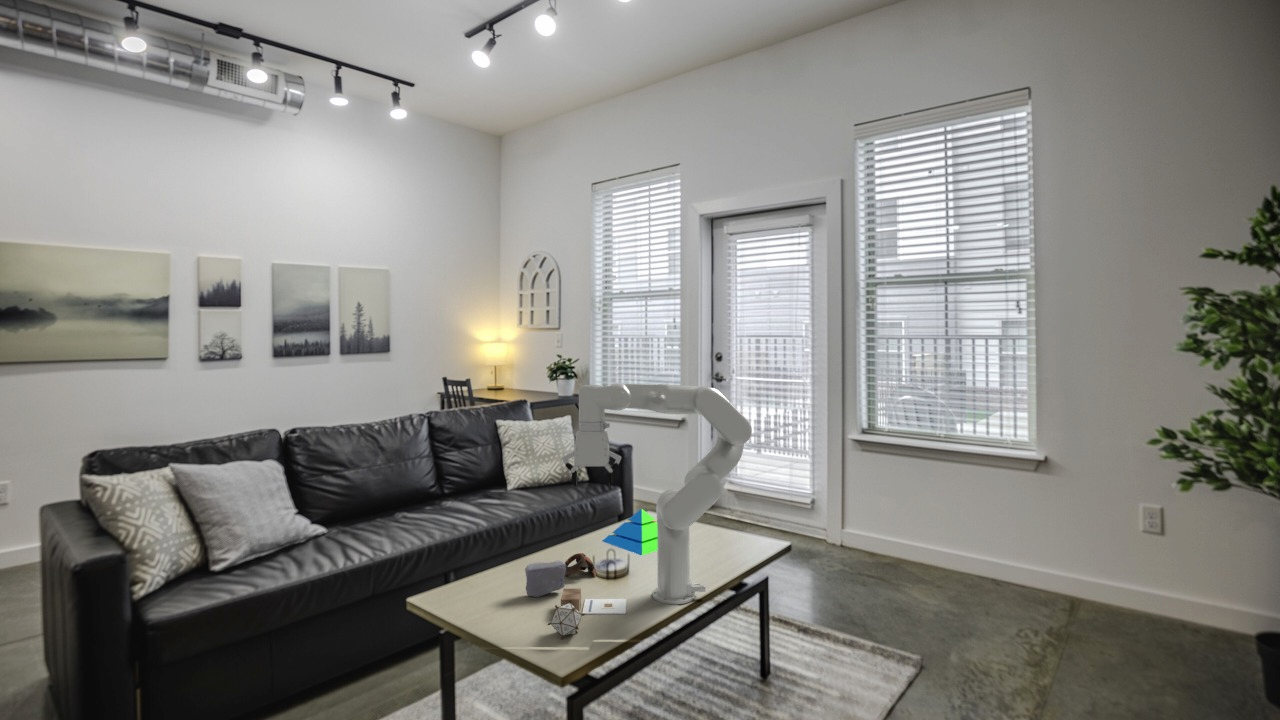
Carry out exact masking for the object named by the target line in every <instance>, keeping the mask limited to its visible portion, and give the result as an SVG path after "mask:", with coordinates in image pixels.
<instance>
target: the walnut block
mask: <svg viewBox="0 0 1280 720" xmlns="http://www.w3.org/2000/svg"><path fill="white" fill-rule="evenodd" d="M562 589H563V590H562V593H561V598H560V606H562V605H565V604H568V603H570V602H569V601H570V600H571V604H572V605H573V606H574V607H575V608H576V609H577V610H578V611H579V612H580V613H581V607H582V588H562Z"/></svg>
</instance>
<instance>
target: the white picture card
mask: <svg viewBox="0 0 1280 720" xmlns="http://www.w3.org/2000/svg"><path fill="white" fill-rule="evenodd" d="M626 612H627V598H585V599H584V604H583V608H582V612H581V614H585V615H626V614H627V613H626Z"/></svg>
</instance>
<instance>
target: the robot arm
mask: <svg viewBox="0 0 1280 720" xmlns="http://www.w3.org/2000/svg"><path fill="white" fill-rule="evenodd" d="M625 409H637V410H638V409H639V410H649V411H653V412H656V413H661V414H676V415H678V414H679V415H700V416H702V417H703V418H704V419H705V420H706V421H707V422H708V424H709V425H711V426H712V427H713V429H715V430H716V433H717V437H716V438H717V439H716V442H715V444H714V446H713V448H711V450H709V452H708V453H707V454H706V455H704V457H703V458H702V459H701V460H700V461H699V462H697V463H696V464H695V465H694V466H692V468H691V469H690V470H688V471H687V472H686V475H685V476H684V481H683V482H684V486H683V487H682V488H681V489H679V490H678V489H674V488H672V489H666V490H664V491H663V492H662V493H661V494H660V495H659V497H658V499H657V501H656V507H655V508H656V510H655V511H656V521H657V531H658V544H657V548H658V550H657V587H656V588H654V589H653V590H652V598H653V600H655V601H656V602H659V603H661V604H667V605H684V604H687V603H690V602H692V601H693V600H694V599H695V597H696V592H698V593H706V584H701V583H700V582H694V583H693V582H692V581H691V578H690V569H691V568H690V544H691V543H690V542H691V541H690V540H691V539H690V537H691V536H690V527H691V526H692V525H694V524H695V522H697V520H699V518H700V519H701V517H702V516H703V515H704V514H705V513H706V512H707V511H708V510H709V509H710V508H711V507H712V506H714V505H715V503H716V502H717V501H718V499H719V498H720V497H721V493H722V490H723V486H722V485H723V484H722V481H723V480H724V479H726V477H727V476H728V475H729V474H730V473H731V472H732V471H733V470H734V469H735V467H736V466H738V463H739V461H740V460H741V458H742V455H743V453H744V445H745V444H746V443H747V442H748V441H749V440H750V438H751V437H752V431H753V430H752V426H751V423H750V422H749V420H748V419H747V418H746V417H745V416H744V415H743V414H742V412H740V411H739V410H738V409H737V407H735V406H734V404H732V403H731V401H729V400H728V399H727V398H726V396H724V395H723V393H722V392H720V391H719V390H718V389H716V388H714V387H710V386H704V385H703V386H702V385H685V384H684V385H683V384H682V385H681V384H663V383H662V384H661V383H660V384H640V383H639V384H638V383H636V384H635V383H618V382H617V383H612V384H611V385H607V386H602V385H599V384H585V385H581V386H580V387H579V388H578V430H577V431H576V433H575V441H574V450H573V451H572V452H569V453H567V454H566V455H563V456H562V458H561V459H562V461H563V464H564V466H565V467H566V469H568V470H569V472H570V473H571V484H573V487H574V488H575V487H577V485H578V471H577V469H578V468H580V467H604V468H605V469H606V471H607V472H606V487H610V486H611V485H610V484H612V483H613V471H615V470H616V469H617V468H618V466H619V464H620V462H621V460H622V456H621V455H620V454H617V453H614V451H613V452H612V451H611V450H610V439H609V435H608V431H606V429H609V428H610V422H609V423H608V422H606V419H605V418H606V417H605V415H606V413H605V410H611V411H622V410H623V411H624V410H625ZM610 457H611V458H613V459H614V460H615V461H614V463H613V464H612V465H611V464H610V463H609V462H610ZM571 458H573V460H574V461H573V462H574V465H572V464H571V463H570V462H569V460H570V459H571Z"/></svg>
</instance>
